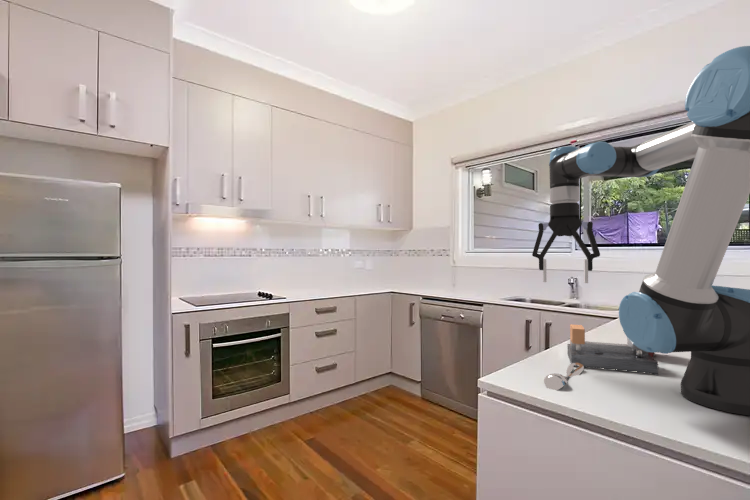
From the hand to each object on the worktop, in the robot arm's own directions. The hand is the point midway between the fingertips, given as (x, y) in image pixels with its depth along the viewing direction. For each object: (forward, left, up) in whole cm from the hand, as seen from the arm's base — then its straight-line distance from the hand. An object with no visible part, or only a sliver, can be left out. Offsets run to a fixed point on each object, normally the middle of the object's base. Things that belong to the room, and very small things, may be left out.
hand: (565, 282), depth 109 cm
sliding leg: (0, -3, -18) cm, 19 cm away
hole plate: (0, -10, -22) cm, 24 cm away
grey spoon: (-18, +1, -22) cm, 29 cm away
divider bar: (0, -11, -19) cm, 21 cm away
